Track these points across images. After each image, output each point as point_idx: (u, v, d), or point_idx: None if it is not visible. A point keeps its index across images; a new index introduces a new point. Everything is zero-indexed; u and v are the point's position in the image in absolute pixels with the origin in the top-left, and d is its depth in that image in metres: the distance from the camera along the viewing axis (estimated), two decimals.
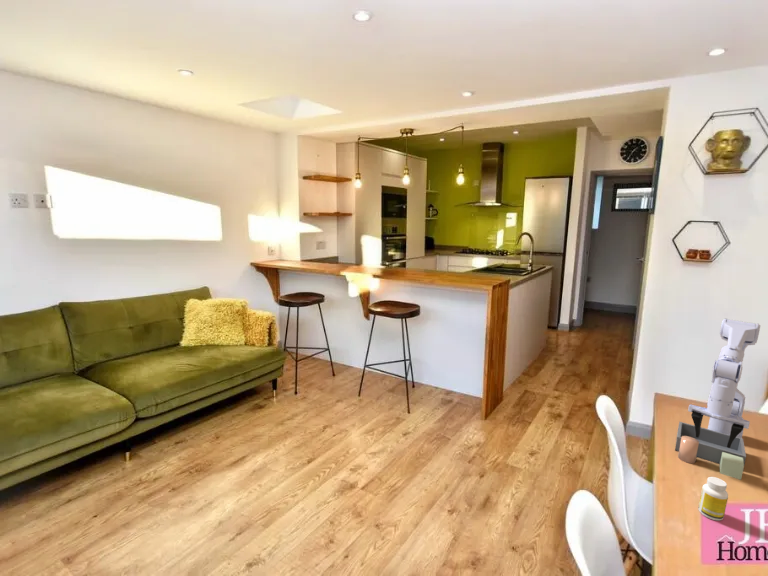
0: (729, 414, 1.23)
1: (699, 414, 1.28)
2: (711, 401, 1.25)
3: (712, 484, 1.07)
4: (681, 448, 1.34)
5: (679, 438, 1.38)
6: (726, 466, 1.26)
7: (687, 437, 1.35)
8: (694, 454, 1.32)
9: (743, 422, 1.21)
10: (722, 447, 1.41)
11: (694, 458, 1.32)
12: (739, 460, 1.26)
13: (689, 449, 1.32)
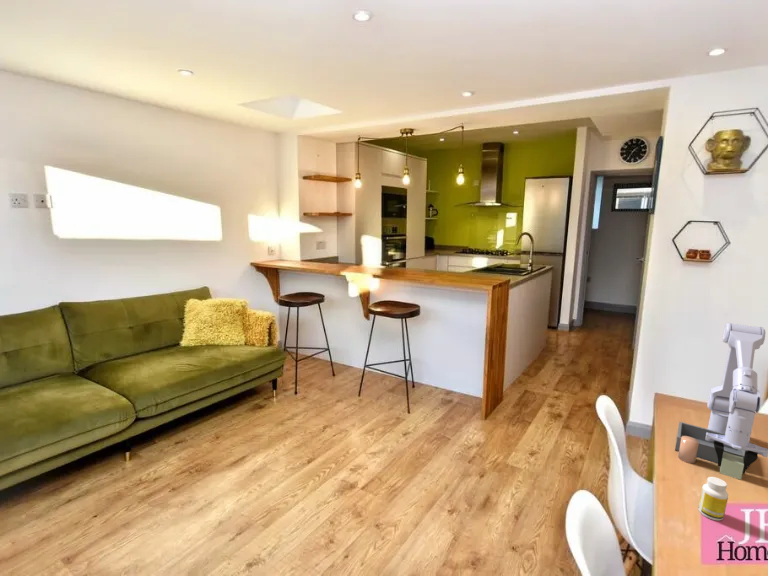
0: (748, 443, 1.24)
1: (717, 443, 1.28)
2: (730, 431, 1.25)
3: (712, 484, 1.07)
4: (681, 448, 1.34)
5: (679, 438, 1.38)
6: (726, 466, 1.26)
7: (687, 437, 1.35)
8: (694, 454, 1.32)
9: (762, 451, 1.22)
10: None
11: (694, 458, 1.32)
12: (739, 459, 1.26)
13: (689, 449, 1.32)
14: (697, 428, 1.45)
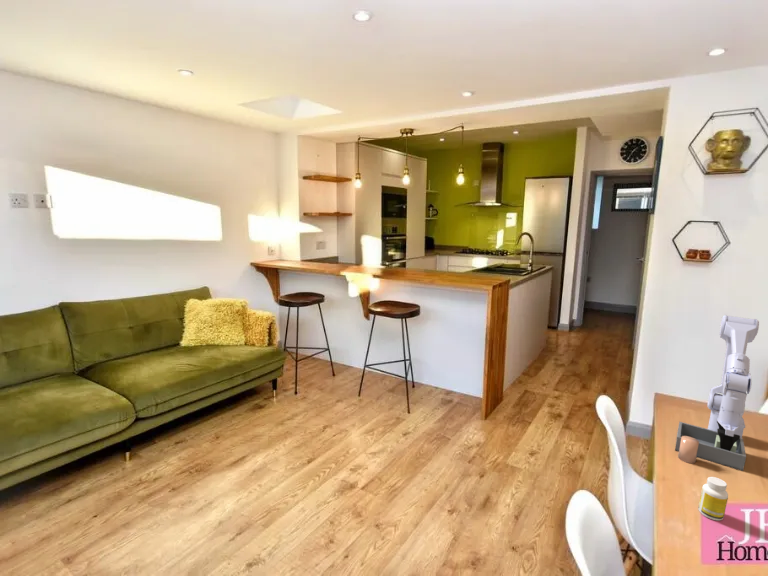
0: None
1: None
2: (739, 416, 1.31)
3: (712, 484, 1.07)
4: (681, 448, 1.34)
5: (679, 438, 1.38)
6: None
7: (687, 437, 1.35)
8: (694, 454, 1.32)
9: None
10: None
11: (694, 458, 1.32)
12: None
13: (689, 449, 1.32)
14: (697, 428, 1.45)
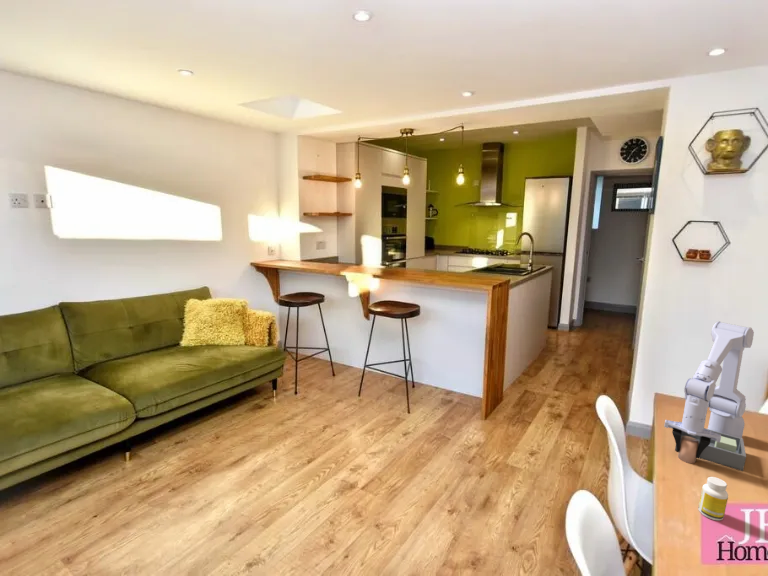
0: (702, 429, 1.30)
1: (675, 430, 1.35)
2: (686, 418, 1.31)
3: (712, 484, 1.07)
4: (681, 448, 1.34)
5: None
6: None
7: (687, 437, 1.35)
8: (694, 454, 1.32)
9: (715, 436, 1.28)
10: None
11: (694, 458, 1.32)
12: (725, 438, 1.37)
13: (689, 449, 1.32)
14: None
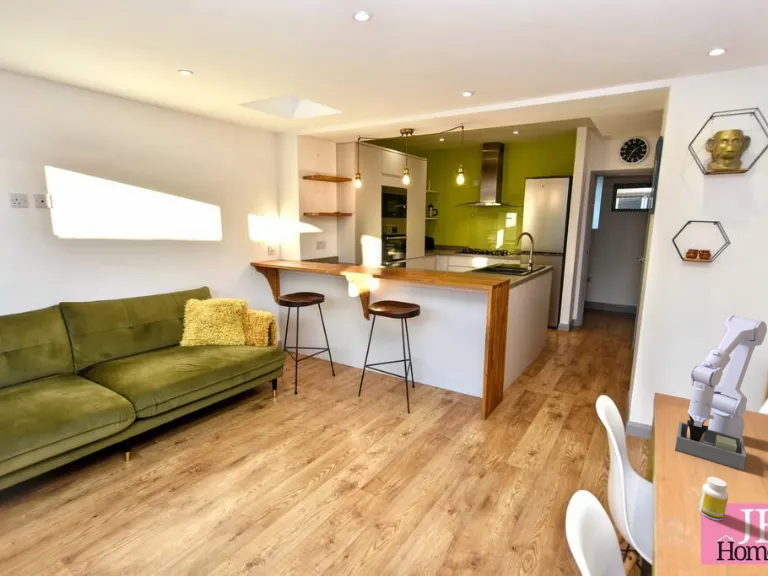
0: None
1: None
2: (708, 407, 1.36)
3: (712, 484, 1.07)
4: None
5: (679, 438, 1.38)
6: None
7: None
8: None
9: None
10: None
11: None
12: (725, 438, 1.37)
13: (703, 435, 1.40)
14: None
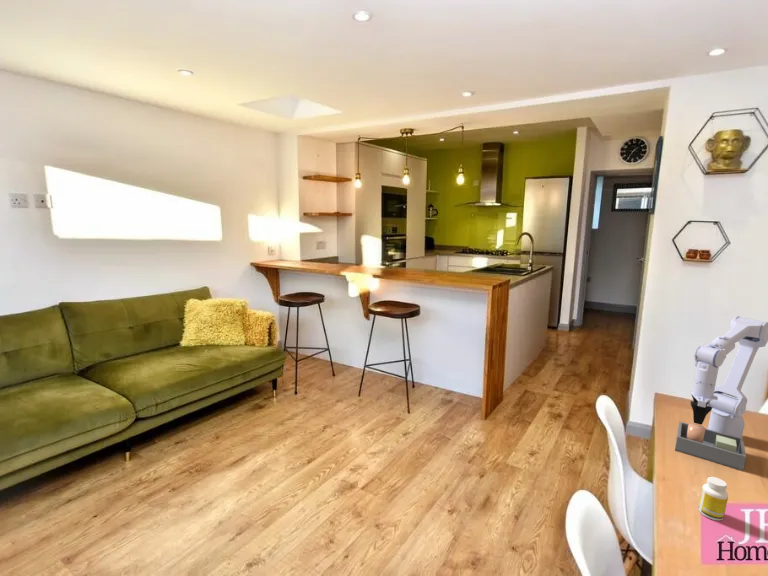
0: None
1: None
2: (711, 388, 1.35)
3: (712, 484, 1.07)
4: (699, 438, 1.39)
5: (679, 438, 1.38)
6: None
7: (692, 426, 1.41)
8: None
9: None
10: None
11: None
12: (725, 438, 1.37)
13: None
14: None
